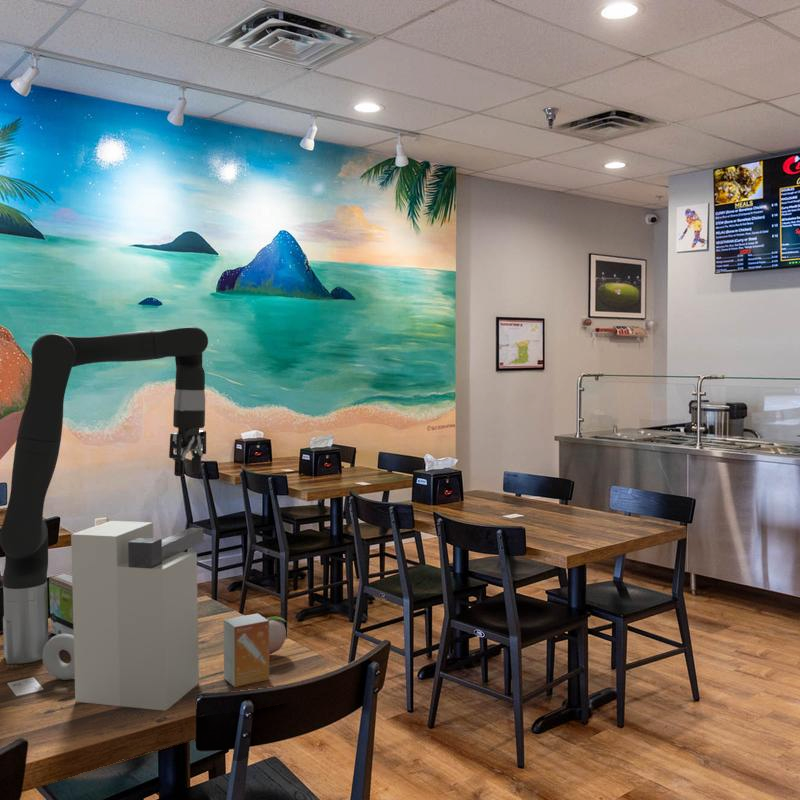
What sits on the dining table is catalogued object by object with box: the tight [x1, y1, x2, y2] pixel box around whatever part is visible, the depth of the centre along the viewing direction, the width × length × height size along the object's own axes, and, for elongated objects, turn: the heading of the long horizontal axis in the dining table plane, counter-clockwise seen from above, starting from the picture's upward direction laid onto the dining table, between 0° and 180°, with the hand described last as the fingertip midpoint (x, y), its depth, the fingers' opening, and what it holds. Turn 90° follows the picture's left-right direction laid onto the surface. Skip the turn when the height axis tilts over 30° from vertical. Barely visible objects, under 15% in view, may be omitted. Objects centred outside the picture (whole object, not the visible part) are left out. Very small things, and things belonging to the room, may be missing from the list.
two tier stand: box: [70, 520, 200, 712], centre depth 169 cm, size 14×20×34 cm
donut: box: [41, 633, 75, 681], centre depth 177 cm, size 10×4×10 cm, turn 82°
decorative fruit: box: [265, 613, 287, 656], centre depth 189 cm, size 9×8×10 cm
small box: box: [223, 613, 270, 688], centre depth 176 cm, size 8×6×13 cm
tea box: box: [48, 571, 74, 636], centre depth 205 cm, size 15×10×15 cm, turn 49°
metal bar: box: [128, 527, 204, 569], centre depth 172 cm, size 24×5×5 cm, turn 167°
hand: (187, 474), depth 202 cm, fingers open, 8 cm apart
